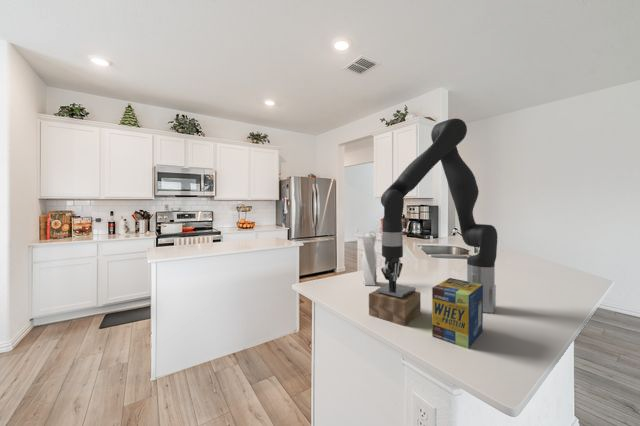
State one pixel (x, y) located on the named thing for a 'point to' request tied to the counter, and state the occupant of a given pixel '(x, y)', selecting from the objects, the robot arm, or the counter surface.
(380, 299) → the hole block
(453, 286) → the protein box
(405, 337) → the counter surface
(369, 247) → the skyscraper
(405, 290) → the panel
